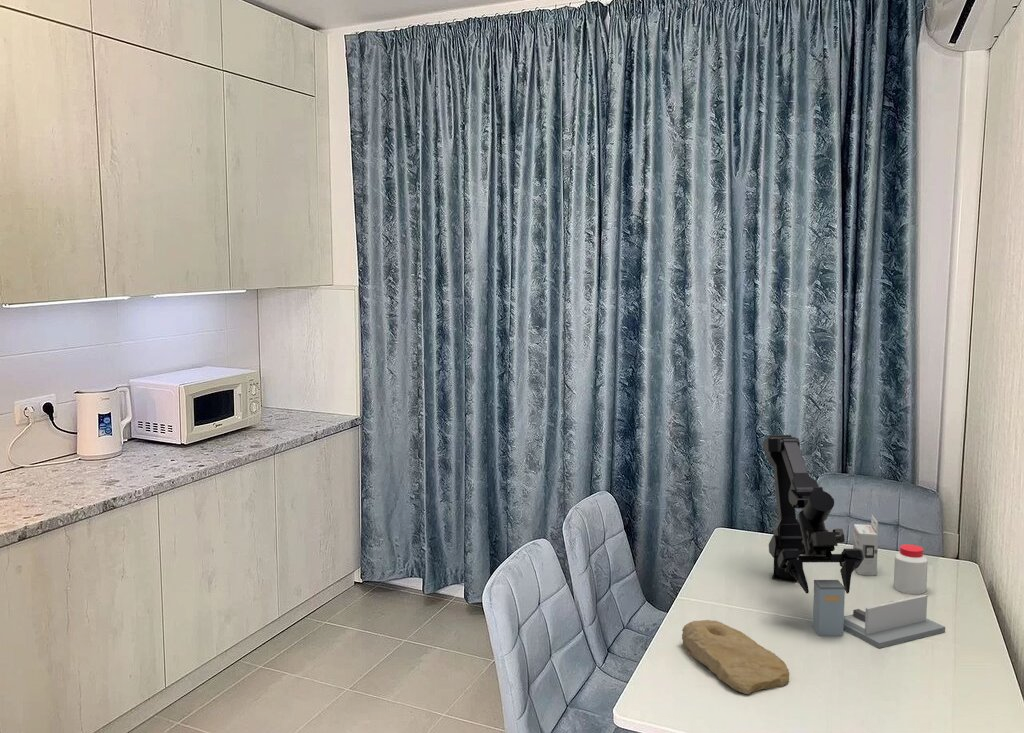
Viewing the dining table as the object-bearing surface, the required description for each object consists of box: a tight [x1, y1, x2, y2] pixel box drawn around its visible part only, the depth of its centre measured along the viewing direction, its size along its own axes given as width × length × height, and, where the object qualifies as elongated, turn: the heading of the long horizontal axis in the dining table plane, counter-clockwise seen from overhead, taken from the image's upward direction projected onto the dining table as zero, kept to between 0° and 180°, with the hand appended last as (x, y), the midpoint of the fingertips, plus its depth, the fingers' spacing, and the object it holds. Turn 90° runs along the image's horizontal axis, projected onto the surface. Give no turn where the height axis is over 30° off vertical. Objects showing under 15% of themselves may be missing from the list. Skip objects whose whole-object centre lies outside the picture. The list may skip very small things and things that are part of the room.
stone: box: [681, 619, 790, 695], centre depth 181 cm, size 15×26×6 cm, turn 20°
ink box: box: [852, 514, 879, 576], centre depth 233 cm, size 9×5×15 cm, turn 168°
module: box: [812, 579, 846, 636], centre depth 195 cm, size 5×6×12 cm
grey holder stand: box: [843, 594, 946, 649], centre depth 197 cm, size 14×20×7 cm
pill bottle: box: [893, 543, 929, 595], centre depth 220 cm, size 8×8×11 cm
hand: (827, 592), depth 196 cm, fingers open, 9 cm apart
